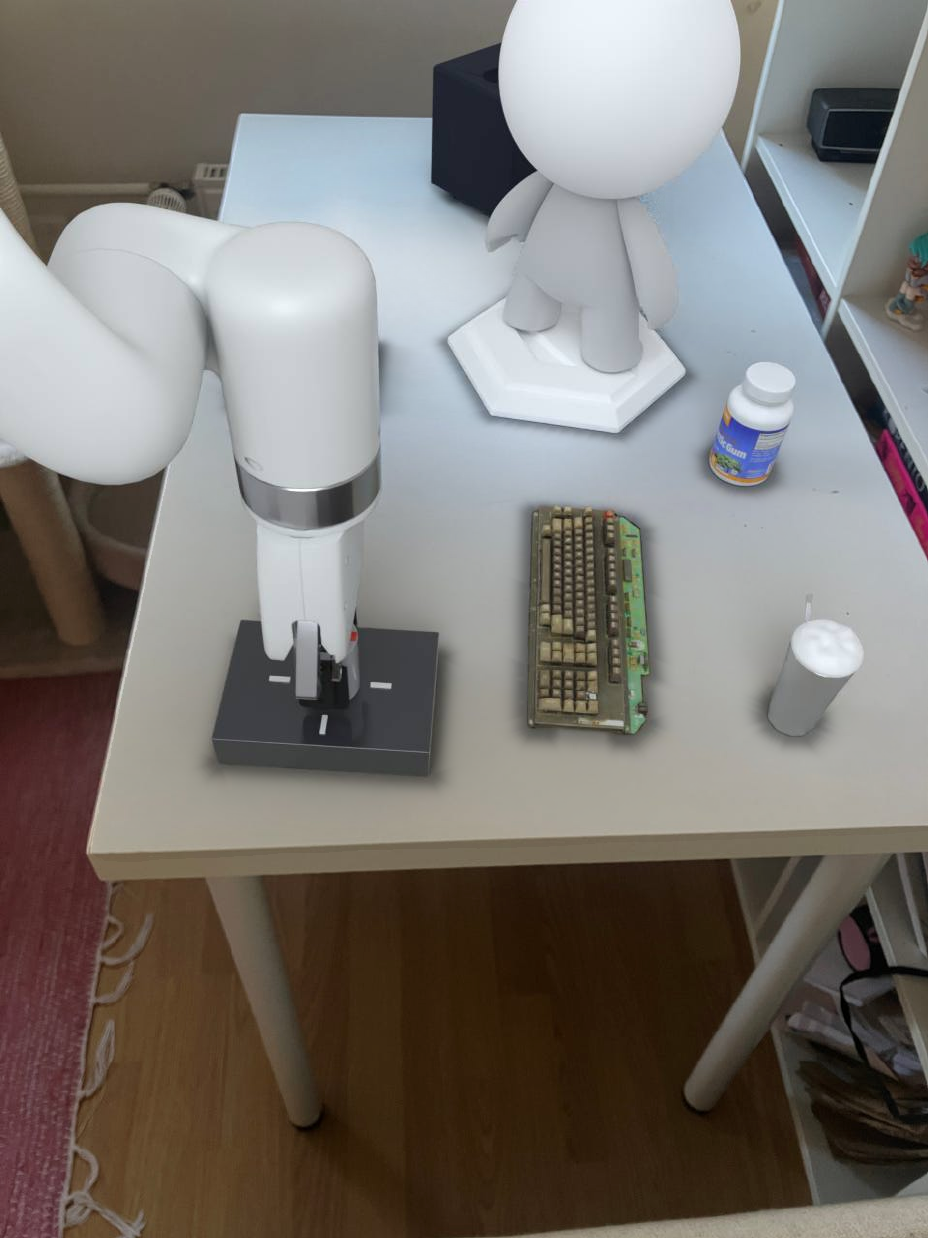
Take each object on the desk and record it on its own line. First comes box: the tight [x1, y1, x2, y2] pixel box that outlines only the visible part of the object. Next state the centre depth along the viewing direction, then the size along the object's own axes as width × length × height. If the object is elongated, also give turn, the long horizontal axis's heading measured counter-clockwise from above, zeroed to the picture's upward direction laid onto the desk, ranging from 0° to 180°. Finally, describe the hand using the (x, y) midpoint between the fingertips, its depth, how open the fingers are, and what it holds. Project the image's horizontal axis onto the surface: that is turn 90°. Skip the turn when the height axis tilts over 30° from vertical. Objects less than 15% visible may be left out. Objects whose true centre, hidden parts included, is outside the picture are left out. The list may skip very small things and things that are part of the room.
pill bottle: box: [708, 361, 797, 487], centre depth 84 cm, size 5×5×10 cm
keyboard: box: [526, 504, 651, 735], centre depth 75 cm, size 22×9×2 cm, turn 176°
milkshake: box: [767, 593, 865, 737], centre depth 67 cm, size 4×5×10 cm
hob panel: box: [211, 619, 440, 777], centre depth 68 cm, size 14×10×3 cm
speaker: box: [430, 41, 538, 218], centre depth 112 cm, size 22×13×15 cm, turn 133°
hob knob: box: [320, 624, 360, 700], centre depth 65 cm, size 4×4×5 cm
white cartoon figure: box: [447, 0, 741, 434], centre depth 83 cm, size 20×23×35 cm
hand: (329, 673), depth 67 cm, fingers closed on hob knob, 4 cm apart
